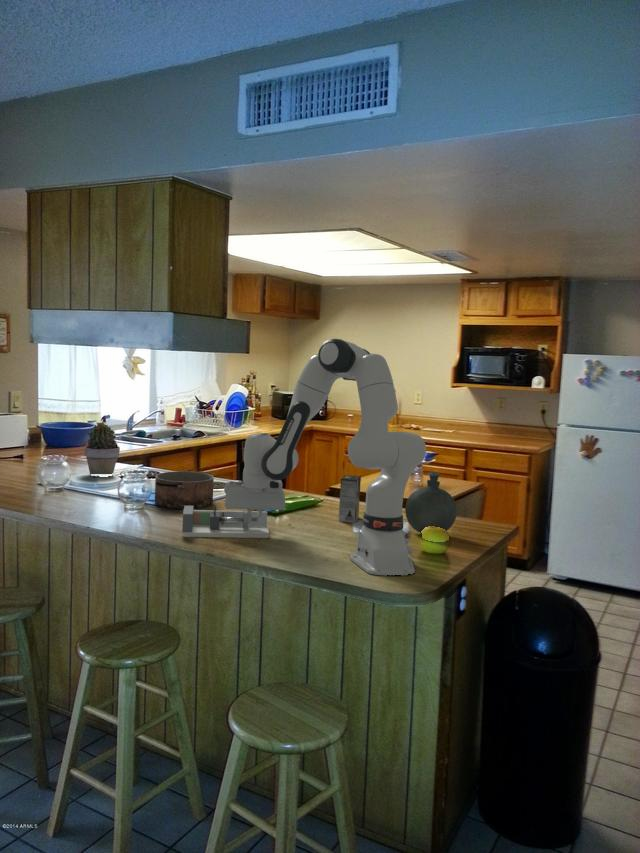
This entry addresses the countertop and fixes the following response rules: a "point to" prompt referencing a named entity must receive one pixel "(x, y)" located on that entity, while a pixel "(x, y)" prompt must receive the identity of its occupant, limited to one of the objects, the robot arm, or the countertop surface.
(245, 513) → the plunger
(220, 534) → the gauge bed
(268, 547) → the countertop surface
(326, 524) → the countertop surface
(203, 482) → the cooking pot
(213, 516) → the needle rider
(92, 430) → the potted plant
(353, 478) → the coffee box
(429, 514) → the flask
